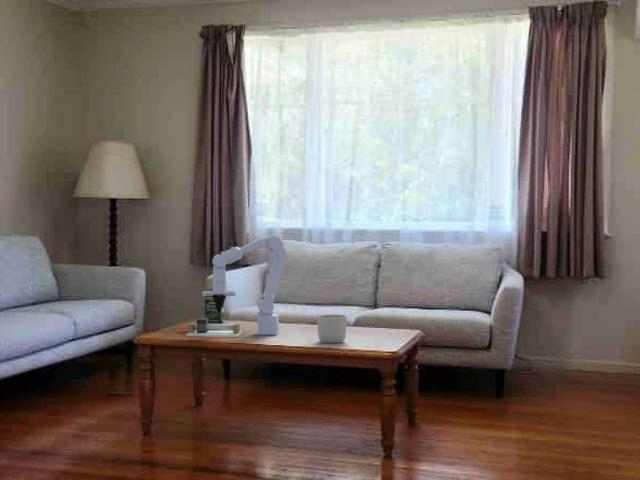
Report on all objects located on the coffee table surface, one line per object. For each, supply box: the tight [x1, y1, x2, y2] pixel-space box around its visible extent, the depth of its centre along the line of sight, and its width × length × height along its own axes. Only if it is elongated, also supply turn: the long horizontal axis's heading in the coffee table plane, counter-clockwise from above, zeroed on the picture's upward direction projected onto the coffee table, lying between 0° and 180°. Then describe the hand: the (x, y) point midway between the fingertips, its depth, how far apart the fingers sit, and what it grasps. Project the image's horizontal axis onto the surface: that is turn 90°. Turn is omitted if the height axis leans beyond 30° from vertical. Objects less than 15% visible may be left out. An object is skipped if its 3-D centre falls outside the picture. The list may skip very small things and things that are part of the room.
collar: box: [196, 317, 210, 333], centre depth 353 cm, size 4×5×6 cm
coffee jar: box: [203, 288, 226, 324], centre depth 371 cm, size 10×8×19 cm
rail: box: [185, 322, 242, 338], centre depth 352 cm, size 22×12×5 cm, turn 85°
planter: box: [316, 313, 348, 344], centre depth 335 cm, size 12×12×11 cm
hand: (219, 312), depth 352 cm, fingers closed
